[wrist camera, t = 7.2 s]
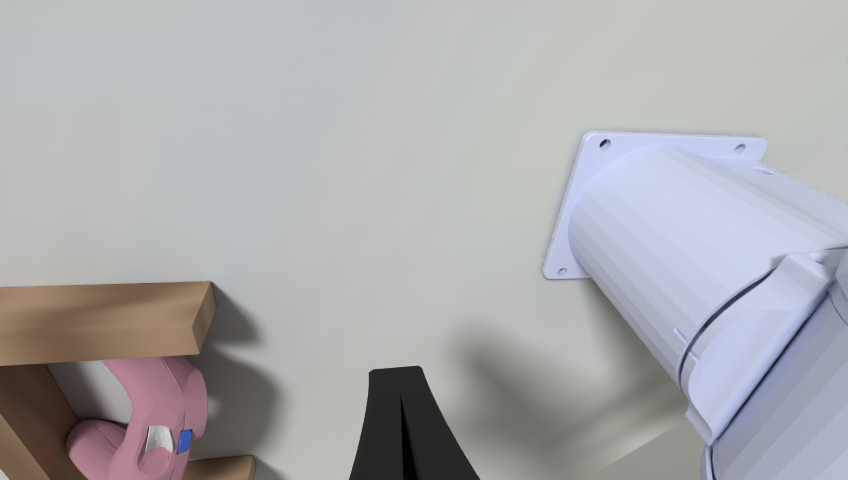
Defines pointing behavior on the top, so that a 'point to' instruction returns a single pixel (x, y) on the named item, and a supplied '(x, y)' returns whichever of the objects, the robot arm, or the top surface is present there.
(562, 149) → the top surface
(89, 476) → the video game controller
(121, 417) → the top surface
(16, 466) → the docking bay
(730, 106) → the top surface
